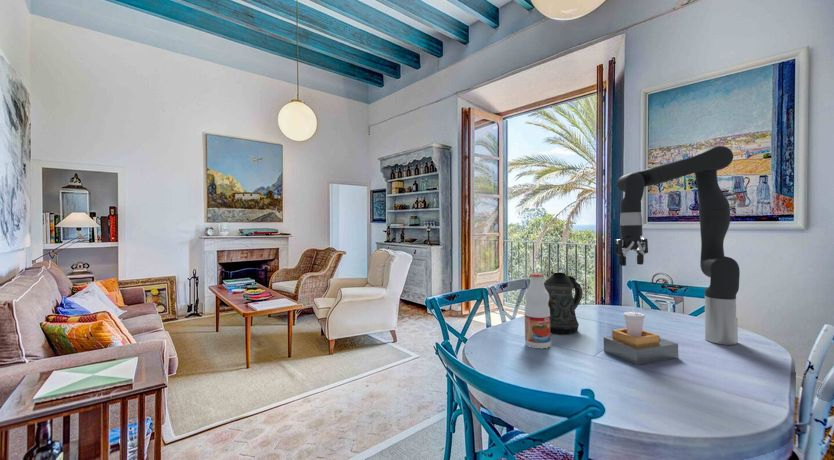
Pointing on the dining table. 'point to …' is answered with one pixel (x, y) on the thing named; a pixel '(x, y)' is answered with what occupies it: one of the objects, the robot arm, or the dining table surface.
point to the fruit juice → (537, 313)
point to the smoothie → (634, 322)
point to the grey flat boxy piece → (640, 347)
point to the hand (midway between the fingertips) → (631, 265)
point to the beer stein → (563, 303)
